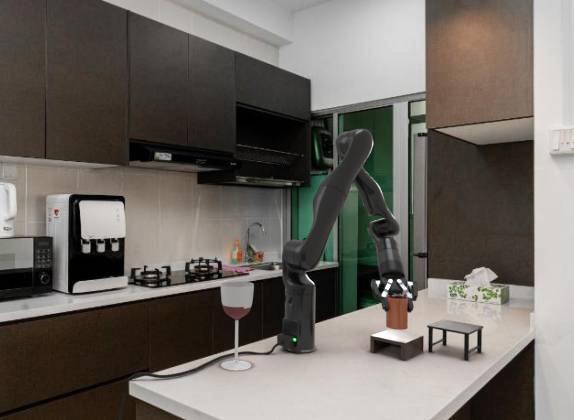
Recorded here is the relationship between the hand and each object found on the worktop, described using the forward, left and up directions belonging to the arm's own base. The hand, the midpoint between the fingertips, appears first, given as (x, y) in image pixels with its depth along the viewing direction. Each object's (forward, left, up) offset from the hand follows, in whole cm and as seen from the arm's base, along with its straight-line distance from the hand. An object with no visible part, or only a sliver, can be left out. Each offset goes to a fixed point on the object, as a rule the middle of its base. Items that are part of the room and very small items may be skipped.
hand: (398, 310), depth 141 cm
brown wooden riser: (+1, +1, -13) cm, 13 cm away
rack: (+14, -11, -13) cm, 22 cm away
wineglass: (-43, +25, -13) cm, 51 cm away
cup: (+1, +1, -5) cm, 6 cm away
